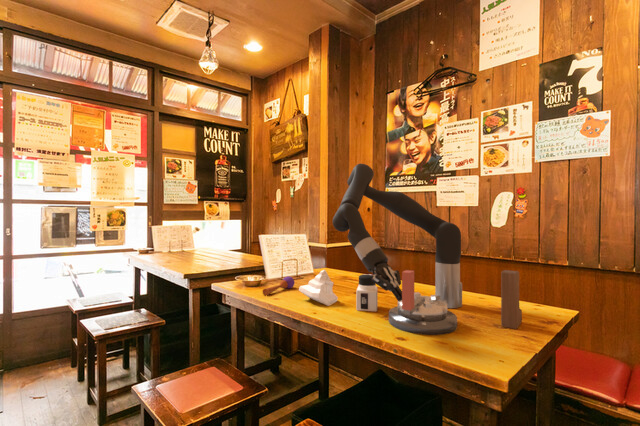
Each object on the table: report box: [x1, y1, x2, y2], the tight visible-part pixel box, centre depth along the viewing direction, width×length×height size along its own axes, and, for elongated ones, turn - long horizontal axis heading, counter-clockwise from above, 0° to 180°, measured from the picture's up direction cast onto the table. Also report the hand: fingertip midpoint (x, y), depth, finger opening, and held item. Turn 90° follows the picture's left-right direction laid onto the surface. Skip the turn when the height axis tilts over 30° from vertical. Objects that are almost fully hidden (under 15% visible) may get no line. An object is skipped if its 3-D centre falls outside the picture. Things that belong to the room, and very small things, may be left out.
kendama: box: [262, 276, 295, 296], centre depth 158 cm, size 6×6×20 cm
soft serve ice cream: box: [298, 269, 339, 307], centre depth 140 cm, size 12×15×14 cm
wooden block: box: [500, 269, 523, 330], centre depth 111 cm, size 9×4×18 cm, turn 140°
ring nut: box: [397, 269, 448, 321], centre depth 108 cm, size 26×16×16 cm, turn 148°
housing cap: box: [388, 305, 458, 336], centre depth 112 cm, size 22×22×3 cm
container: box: [355, 273, 379, 312], centre depth 130 cm, size 8×8×13 cm
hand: (402, 299), depth 101 cm, fingers closed
